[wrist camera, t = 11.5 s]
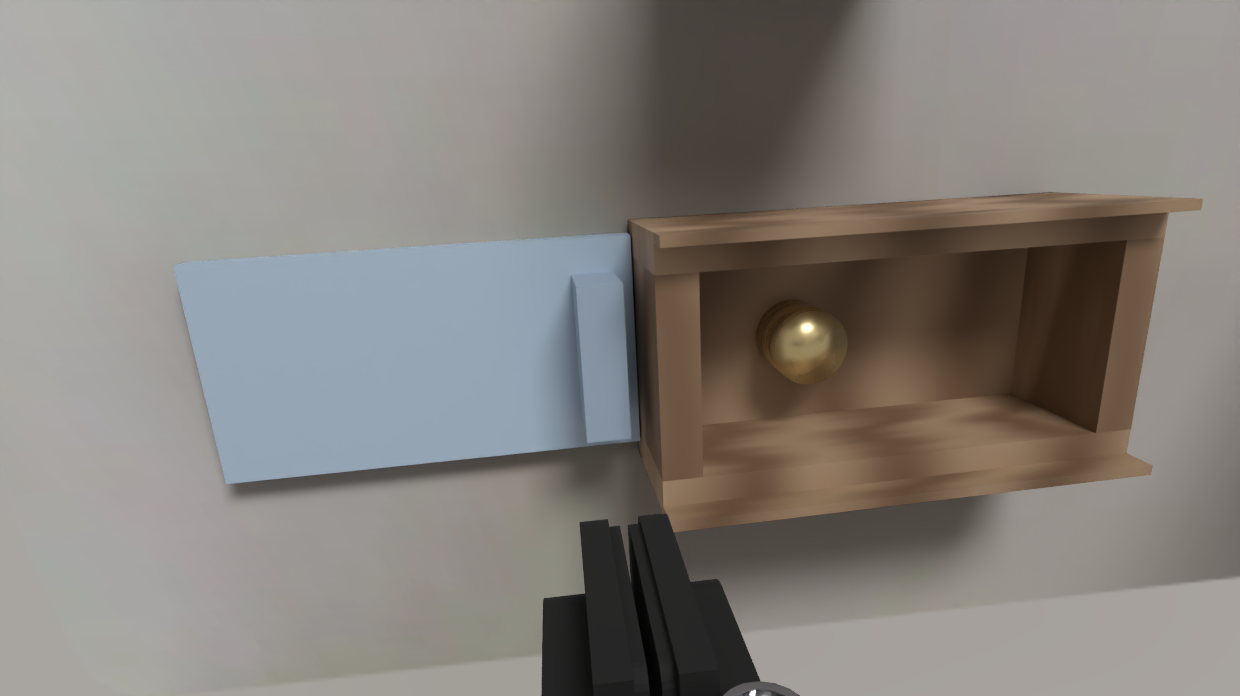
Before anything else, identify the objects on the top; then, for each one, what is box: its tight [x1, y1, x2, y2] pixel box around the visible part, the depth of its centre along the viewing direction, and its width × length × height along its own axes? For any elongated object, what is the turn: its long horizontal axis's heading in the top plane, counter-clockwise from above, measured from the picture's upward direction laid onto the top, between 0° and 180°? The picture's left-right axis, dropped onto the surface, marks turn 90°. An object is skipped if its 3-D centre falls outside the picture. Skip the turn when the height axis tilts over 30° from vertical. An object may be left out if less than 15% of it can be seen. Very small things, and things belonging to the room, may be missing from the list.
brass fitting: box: [755, 300, 848, 384], centre depth 28 cm, size 3×3×2 cm
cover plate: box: [173, 232, 640, 484], centre depth 27 cm, size 18×9×5 cm, turn 94°
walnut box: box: [628, 192, 1203, 532], centre depth 27 cm, size 20×11×7 cm, turn 94°
